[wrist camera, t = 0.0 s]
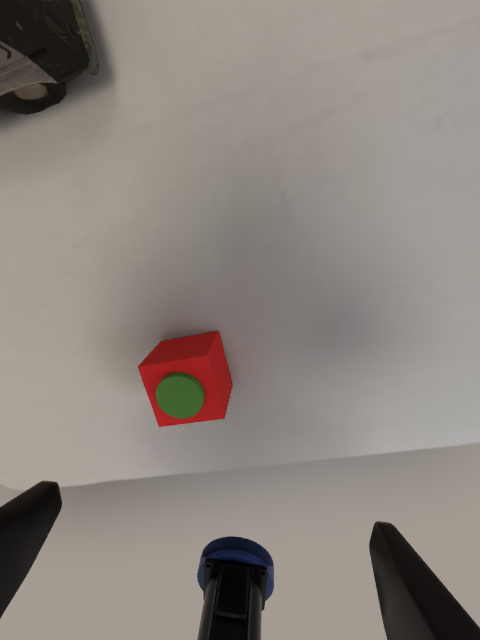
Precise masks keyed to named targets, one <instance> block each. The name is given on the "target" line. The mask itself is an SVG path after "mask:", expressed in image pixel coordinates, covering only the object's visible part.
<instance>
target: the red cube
mask: <svg viewBox="0 0 480 640" xmlns="http://www.w3.org/2000/svg"><path fill="white" fill-rule="evenodd" d="M138 369H139V372H140V375H141V377H142V380H143V383H144V386H145V389H146V391H147V394H148V397H149V400H150V402H151V405H152V408H153V411H154V414H155V416H156V419H157V422H158V425H159V427H162V426H170V425H178V424H185V423H193V422H201V421H209V420H217V419H224V418H225V414H226V410H227V406H228V402H229V398H230V393H231V389H232V385H233V384H232V380H231V377H230V373H229V369H228V365H227V361H226V357H225V354H224V350H223V346H222V342H221V338H220V334H219V331H215V332H209V333H204V334H198V335H193V336H187V337H181V338H176V339H170V340H164V341H161V342H160V343H159V344H158V345H157V346H156V347H155V348H154V349H153V351H152V352H151V353H150V354H149V355H148V356H147V357H146V358H145V359H144V360H143V362H142V363H141V364H140V365H139V366H138Z"/></svg>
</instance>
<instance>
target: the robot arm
mask: <svg viewBox="0 0 480 640" xmlns="http://www.w3.org/2000/svg"><path fill="white" fill-rule="evenodd" d="M61 507H62V499H61V495H60V490H59V485H58V483H57V482H52V481H42V482H40V483H38V484H36V485H35V486H33V487H31V488H30V489H28V490H27V491H25V492H24V493H22V494H21V495H19V496H17V497H16V498H14V499H12V500H11V501H9V502H8V503H6V504H5V505H3V506H2V507H0V618H1V616H2V615H3V613H4V611H5V610H6V608H7V606H8V605H9V603H10V602H11V600H12V598H13V597H14V595H15V593H16V592H17V590H18V589H19V587H20V585H21V584H22V582H23V581H24V579H25V577H26V575H27V574H28V572H29V570H30V568H31V567H32V565H33V563H34V561H35V559H36V557H37V555H38V553H39V551H40V549H41V547H42V545H43V544H44V542H45V540H46V538H47V536H48V534H49V532H50V530H51V528H52V526H53V524H54V522H55V520H56V518H57V516H58V515H59V512H60V510H61ZM369 548H370V556H371V561H372V565H373V572H374V577H375V582H376V587H377V593H378V598H379V603H380V609H381V614H382V619H383V624H384V628H385V632H386V636H387V640H480V628H479V627H478V625H477V624H476V623H475V622H474V620H473V619H472V618H471V617H470V616H469V615H468V613H467V612H466V611H465V610H464V609H463V607H462V606H461V605H460V604H459V603H458V602H457V600H456V599H455V598H454V597H453V595H452V594H451V593H450V592H449V591H448V589H447V588H446V587H445V586H444V585H443V584H442V582H441V581H440V580H439V579H438V578H437V576H436V575H435V574H434V573H433V572H432V570H431V569H430V568H429V567H428V566H427V564H426V563H425V562H424V561H423V560H422V558H421V557H420V556H419V555H418V554H417V552H416V551H415V550H414V549H413V548H412V547H411V545H410V544H409V543H408V542H407V541H406V539H405V538H404V537H403V536H402V535H401V534H400V532H399V531H398V530H397V529H396V527H394V525H392V524H391V523H387V522H379V521H378V522H376V523H375V524H374V527H373V531H372V535H371V539H370V545H369ZM267 577H268V568H267V567H266V566H264V565H257V564H250V563H242V562H235V561H228V560H221V559H214V558H206V559H205V561H204V605H203V611H202V616H201V622H200V628H199V633H198V639H197V640H261V611H263V610H264V605H265V596H266V586H267Z"/></svg>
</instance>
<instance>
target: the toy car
mask: <svg viewBox="0 0 480 640" xmlns="http://www.w3.org/2000/svg"><path fill="white" fill-rule="evenodd" d="M89 61H90V65H89ZM88 65H89V66H88ZM98 70H99V63H98V59H97V54H96V51H95V48H94V44H93V41H92V38H91V35H90V31H89V28H88V25H87V22H86V18H85V15H84V12H83V9H82V6H81V2H80V0H0V105H1V106H3V107H4V108H6V109H8V110H10V111H13V112H16V113H20V114H31V113H36V112H40V111H42V110H44V109H46V108H48V107H50V106H52V105H55V104H57V103H59V102H60V101H61V100H62V99H63V98H64V97H65V96H66V85H65V82H66V81H69V80H71V79H73V78H75V77H77V76H79V75H80V74H82V73H83V72H85V71H87V72H88V73H89V74H91V75H96V74H98Z"/></svg>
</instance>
